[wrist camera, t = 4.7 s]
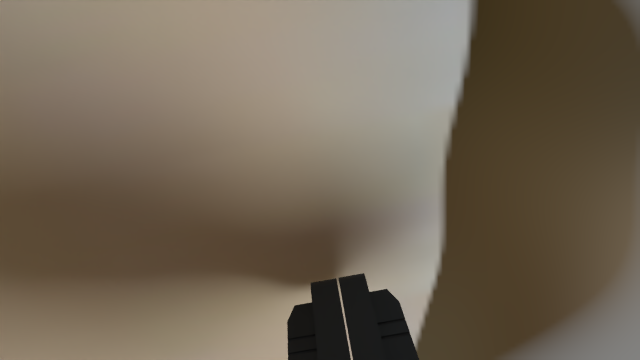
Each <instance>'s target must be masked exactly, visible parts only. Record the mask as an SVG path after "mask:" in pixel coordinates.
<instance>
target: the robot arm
mask: <svg viewBox="0 0 640 360" xmlns="http://www.w3.org/2000/svg"><path fill="white" fill-rule="evenodd" d="M339 283H340V289H341V295H342V300H343V306H344V311H345V317H346V323H347V328H348V334H349V340H350V345H351V351H352V356H353V360H419V358H418V355H417V352H416V349H415V346H414V344H413V341H412V338H411V335H410V332H409V329H408V326H407V323H406V321H405V317H404V314H403V311H402V309H401V306H400V303H399V301H398V300H397V299H396V298H395V297H394V296H393V295H392V294H391V293H390V292H389V291H388V290H387V289H384V290H379V291H373V292H369V290H368V286H367V282H366V278H365V275H364V273H363V274H357V275H352V276H346V277H340V278H339ZM311 294H312V303H306V304H301V305H295V306H294V308H293V311H292V313H291V315H290V317H289V319H288V322H287V324H288V360H351V358H350V353H349V347H348V341H347V335H346V330H345V324H344V318H343V313H342V307H341V302H340V296H339V291H338V285H337V280H336V278H335V279H330V280H324V281H319V282H313V283H311Z"/></svg>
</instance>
